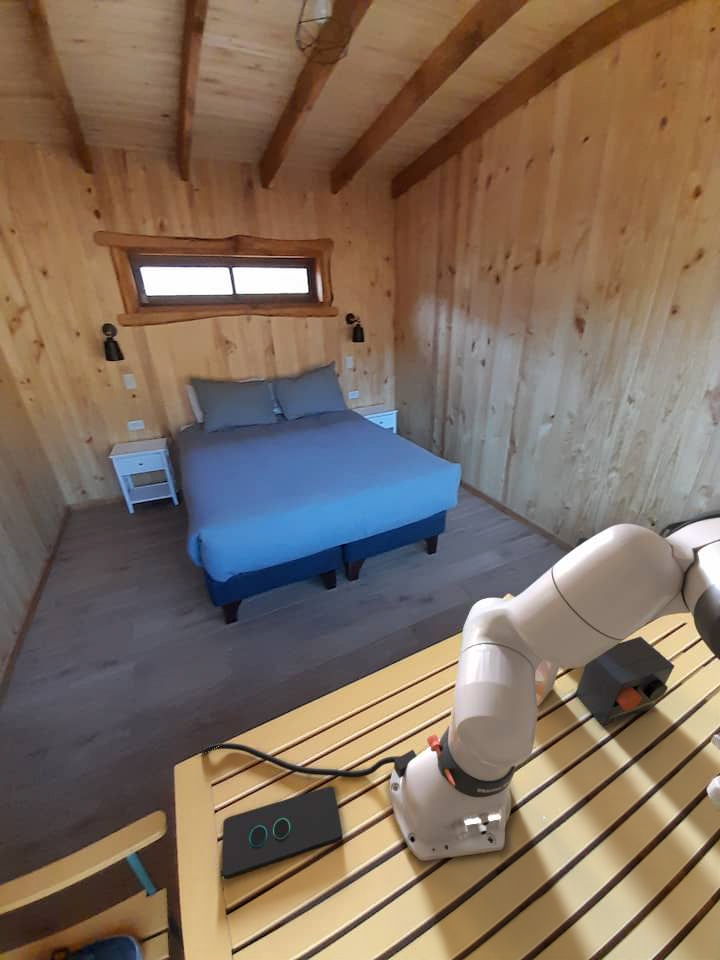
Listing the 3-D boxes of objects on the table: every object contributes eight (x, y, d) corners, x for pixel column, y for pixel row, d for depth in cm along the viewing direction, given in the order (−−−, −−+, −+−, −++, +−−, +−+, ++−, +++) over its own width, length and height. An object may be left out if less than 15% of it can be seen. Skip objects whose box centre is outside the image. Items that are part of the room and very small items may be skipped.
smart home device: (223, 817, 71) (333, 783, 75) (224, 822, 72) (333, 788, 76) (221, 877, 64) (343, 836, 68) (223, 882, 65) (343, 841, 69)
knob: (621, 713, 81) (627, 699, 79) (609, 700, 84) (614, 686, 82) (638, 707, 82) (644, 693, 80) (625, 694, 85) (631, 680, 83)
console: (608, 734, 84) (627, 691, 78) (574, 694, 92) (589, 652, 86) (659, 714, 88) (681, 672, 81) (622, 677, 96) (640, 636, 90)
